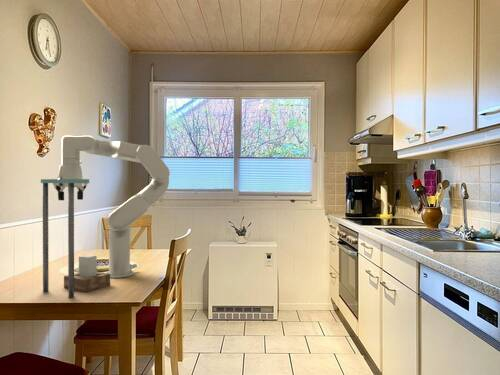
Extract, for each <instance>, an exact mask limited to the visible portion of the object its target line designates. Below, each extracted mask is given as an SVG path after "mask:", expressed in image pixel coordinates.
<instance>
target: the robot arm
mask: <svg viewBox="0 0 500 375" xmlns="http://www.w3.org/2000/svg"><path fill="white" fill-rule="evenodd" d="M81 152H85V153H87V154H90V155H95V156H101V157H107V158H108V157H109V158H112V159H116V160H122V161H128V162H133V163H134V162H135V163H139V164H141V165H142V166H143V167H144V168H145V169H146V171H147V173H148V174H149V176H151V178H152V179H151V182H149V184H148V185H146V186H145V187H144V188H143V189H142V190H140V192H138V193H136V194H135V195H133V196H131V197H130V198H129V199H128V200H127V201H125V202H124V203H122V204H121V205H119V207H117V208H116V209H114V210H112V212H110V214H108V217H107V225H108V271H107V272H106V273H108V274H110V279H120V278H122V279H123V278H128V277H131V276H133V275H134V271H133V269H136V268H138V265H137V263H134V264H132V263H131V261H130V260H131V248H130V247H131V225H132V224H133V223H135V222H136V221H137V220H138V219H139V218H141V217H142V216H143V215H144V214H146V212H147V211H148V209H149V208H150V207H151V206H152V205H154V204H155V203H156V202H157V201H158V200H159V199H161V198H162V197H163V195H165V193H166V192H167V190H168V187H169V185H170V172H171V171H170V169H169V167H168V166H167V164H166V163H165V162H164V161H163V160H162V159H161V157H160V155H158V153H157V151H155V149H154V148H153V147H152V146H151V145H149V144H137V143H131V142H126V141H121V140H120V141H107V140H102V139H95V137H93V136H91V135H81V136H80V135H79V136H76V135H75V136H74V135H64V136H62V138H61V165H59V169H58V173H57V179H84V178H83V171H82V166H81V164H82V161H81V159H80V158H81V156H80V154H81ZM52 184H53V186H54V187H53V188H54V189H55V190H56V192H57V197H58V199H57V200H58V201H65V191H64V190H65V189H66V188H68V183H52ZM88 184H89V183H74V188H76V189H77V191H76V193H77V194H76V195H77V197H76V198H77V200H78V201H81V200H84V191H85V190H86V188H87V186H88Z"/></svg>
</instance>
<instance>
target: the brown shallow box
mask: <svg viewBox="0 0 500 375" xmlns="http://www.w3.org/2000/svg"><path fill="white" fill-rule="evenodd" d="M106 287H111V278H110V274H108V273H107V272H100V271H97V276H93V277H89V278H85V277H79V272H76V273H75V272H74V291H77V292H78V291H79V292H81V293H90V292H92V291H96V290H100V289H104V288H106ZM63 288H64V289H67V290H68V274H67V275H66V274H65V275H63Z"/></svg>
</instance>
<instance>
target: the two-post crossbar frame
mask: <svg viewBox="0 0 500 375" xmlns="http://www.w3.org/2000/svg"><path fill="white" fill-rule="evenodd" d="M40 183H41V184H42V293H48V292H49V287H50V286H49V284H50V283H49V184H53V183H68V187H67V199H68V200H67V201H68V202H67V203H68V205H67V212H68V213H67V214H68V215H67V220H68V221H67V222H68V224H67V228H68V229H67V230H68V231H67V232H68V233H67V236H68V237H67V238H68V239H67V242H68V243H67V244H68V247H67V248H68V249H67V251H68V252H67V254H68V265H67V266H68V267H67V269H68V270H67V271H68V273H67V275H68V289H67V290H68V292H67V293H68V294H67V295H68V297H67V298H69V299H74V298H75V290H74V274H75V187H74V183H88V184H90V179H88V178H87V179H86V178H83V179H58V178H57V179H56V178H51V179H49V178H47V179H45V178H43V179H40Z"/></svg>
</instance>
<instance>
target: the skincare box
mask: <svg viewBox="0 0 500 375" xmlns="http://www.w3.org/2000/svg"><path fill="white" fill-rule="evenodd" d="M97 263H98V262H97V255H90V254H89V255H88V254H87V255H86V254H84V255H80V256H78V273H79V277H85V278H89V277H93V276H97V272H98V271H97V269H98V268H97V267H98V266H97V265H98V264H97Z"/></svg>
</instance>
